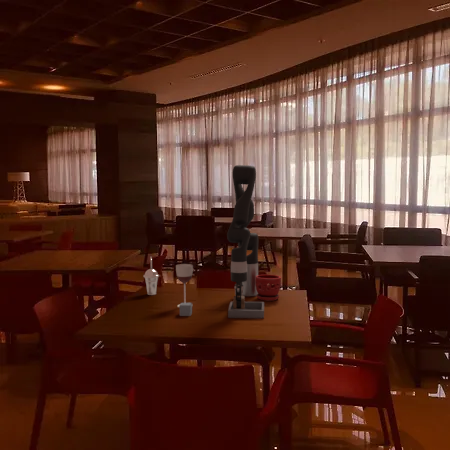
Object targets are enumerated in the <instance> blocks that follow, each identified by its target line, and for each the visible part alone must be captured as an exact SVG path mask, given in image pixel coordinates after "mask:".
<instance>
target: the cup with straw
mask: <svg viewBox="0 0 450 450" xmlns="http://www.w3.org/2000/svg"><path fill="white" fill-rule="evenodd" d="M149 258H150V268H149V269H147V270H146V271H145V273H144V274H143V278H144V279H145V284H146V292H147V295H149V296H155V295H157V285H158V280H159V277H160V274H158V273H159V272H158V271H157V270H156V269H154V268H153V257H152V256H150V257H149Z"/></svg>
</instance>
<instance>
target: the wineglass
mask: <svg viewBox="0 0 450 450" xmlns="http://www.w3.org/2000/svg"><path fill="white" fill-rule="evenodd" d="M193 268H194V265H193V264H192V263H181V264H177V265H175V272H176V278H177V279H178V281H180V282H181V283H182V284H183V303H187V301H186V300H187V299H186V298H187V297H186V295H187V294H186V292H187V291H186V283H189V281H191V279H192V277H193ZM180 304H181V303H180ZM180 304H177V308H180ZM192 307H193V304H192Z"/></svg>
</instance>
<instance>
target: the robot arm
mask: <svg viewBox="0 0 450 450" xmlns="http://www.w3.org/2000/svg"><path fill="white" fill-rule="evenodd" d="M256 179H257V170H256V166H254V165H244V164H243V165H241V164H238V165H235V166H233V168H232V183H233V187H234V188H233V189H234V196H235V198H234V199H235V205H234V207H233V216H232V220H231V223H230V225H229V228H228V230H227V233H226V238H227V241H228V242H229V243H232V244H237V247H234V248H231V253H230V256H231V257H230V259H231V260H230V261H231V262H230V281H231V282H234V283H235V284H234V296H236V308H237V309H241V300H242V298H241V296H245V297H257V294H258V292H257V290H256V281H255V279H256V276H257V275H259V235H258V233H256V232H251V231H250V229H249V228H247V227H248V226H249V225H250V223H251V222H252V221H253V219H254V217H255V205H254V201H253V200H252V197H253V193H254V189H255V184H256ZM243 185H244V186H245V185H247V186H246V188H245V190H244V188H243ZM247 251H251V253H249V254H247V253H248V252H247ZM237 296H240V297H237Z"/></svg>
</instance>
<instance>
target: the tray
mask: <svg viewBox="0 0 450 450" xmlns="http://www.w3.org/2000/svg"><path fill="white" fill-rule="evenodd" d="M227 313H228V314H227V318H228V319H264V318H265V302H264V301H245V308H244V309H233V301H230V302H229V305H228V310H227Z"/></svg>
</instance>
